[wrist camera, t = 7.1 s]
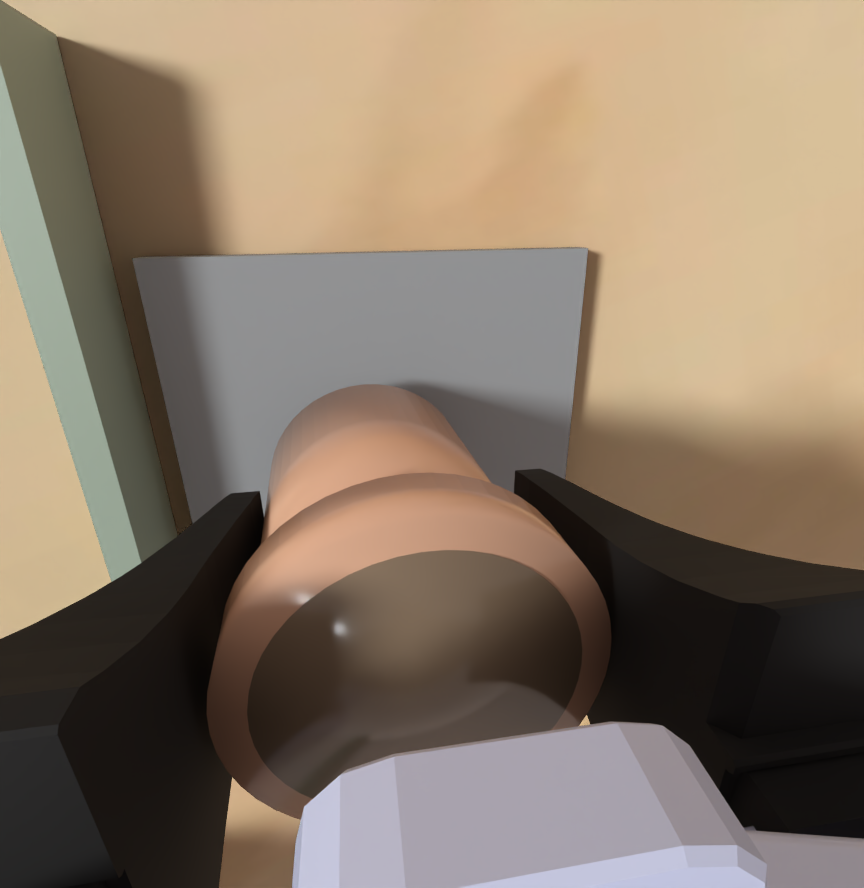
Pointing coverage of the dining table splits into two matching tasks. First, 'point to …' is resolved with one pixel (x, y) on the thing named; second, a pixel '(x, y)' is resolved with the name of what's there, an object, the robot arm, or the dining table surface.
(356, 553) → the terracotta pot
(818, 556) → the dining table surface
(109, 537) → the frame
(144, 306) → the slate mat
